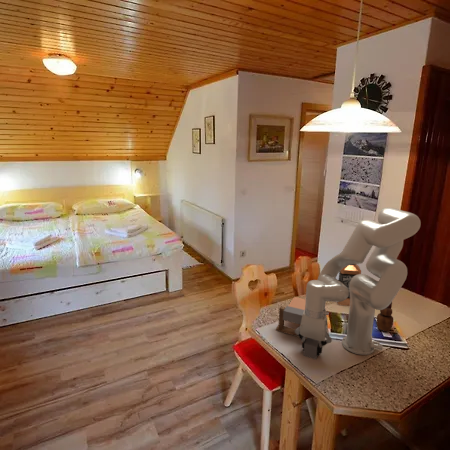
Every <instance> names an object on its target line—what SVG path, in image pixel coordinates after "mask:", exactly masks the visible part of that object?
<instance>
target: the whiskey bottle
mask: <svg viewBox="0 0 450 450" xmlns="http://www.w3.org/2000/svg"><path fill="white" fill-rule="evenodd" d="M358 274H362V270H361V267H360V265H359V264H354V265H348V266H346V267H344V268H342V269H341V270H340V272H339V273H338V280H339V281H340V282H341V283H343V284H344V285H345V286H346V287H347V288H348V290H349V285H350V281H351V279H352V278H353V277H354V276H355V275H358ZM336 304H337V305H339V306H345V307H347V306H348V307H350V291H349V295H348V297H347V299H345V300H344V301H341V302H336Z"/></svg>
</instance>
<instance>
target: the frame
mask: <svg viewBox="0 0 450 450" xmlns="http://www.w3.org/2000/svg"><path fill="white" fill-rule="evenodd" d="M285 308H286V306H282V305H281V306H280V307H279V313H278V325H277V326H276V328H275V331H277V332H281V333H284V334H286V335H292V336H295V337H298V335H297V334H296V333H295V330H296V329H297V328H293V327H290V326H285V320H283V311H284V309H285ZM306 339H307V337H306Z"/></svg>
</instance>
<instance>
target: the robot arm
mask: <svg viewBox="0 0 450 450" xmlns="http://www.w3.org/2000/svg"><path fill="white" fill-rule="evenodd" d="M421 223H422V222H421V219H420V218H419V216H418V215H417V214H415V213H412V212H410V211H406V210H402V209H399V208H394V207H384V208H382V209H381V210H380V211H379V212H378V215H377V221H374V220H372V219H362V220H360V221H359V222H358V223H357V224H356V226H355V228H354V230H353V232H352V233H351V235H350V237H349V239H348V240H347V242H346V244H345V246H344V247H343V249H342V251H341V252H339V254H336V255H335V256H333V257H332V258H331V259H329V260H328V261H327V262H326V263H325V265H324V266H323V267H322V269H321V270H320V273H319V275H318V277H317V279H313V280H312V279H311V280H309V281H308V282H307V283H306V289H305V291H306V292H305V299H306V302H305V310H304V312H303V315H302V319H301V324H299V326H298V327H297V328H295V329H296V330H295V333H296V334H297V335H298V336H297V338H298V337H299V339H300V341H301V348H302V352H304V343H305V341H306V337H308V338H311V339H315V340H318V344H319V345H318V350H317V357H319V356H320V355H321V354H322V353H323V352H322V351H323V347H324V346H326V345H328V344H330V343H332V342H333V339H332V337H331V336H330V335H329V333H328V317H327V316H329V313H330V311H327V310H326V302H332V303H333V302H335V303H337V302H341V301H344V300H345V299H347V297H348V295H349V291H350V306H349V309H348V320H347V330H346V335H345V336H344V337H343V338H342V339H341V345H342V346H343V348H344V349H345V350H347V351H349V352H351V353H353V354H355V355H359V356H367V355H368V356H369V355H371V354H372V353H374V351H375V349H377V350H380V351H383V346H384V345H383V344H381V342H380V341H377V340H374V339H373V328H374V327H373V326H374V320H375V314H376V313H375V312H376V310H377V311H380V310H383V309H385V308H387V307H388V306H389V305H390V304H391V302H392V303H393V300H394V299H395V298H396V296H397V295H398V293H399V292H400V290H401V288H402V286H403V285H404V283H405V281H406V280H407V276H408V267H407V266H406V264H405V263H404V262H403V261H401V260H400V259H398V257H399V254H400V253H401V251H402V249H403V247H404V240H406V239H408V238H410V237H413V236H414V235H416V233H418V231H419V230H420V228H421ZM373 247H374V249H373V251H372V252H371V254H370V255H369V257H368V259H367V261H366V262H365V259H366V258H367V256H368V254H369V252H370V251H371V249H372V248H373ZM364 262H365V263H366V264H365V268H366V270H367V271H368V272H369V273H370V274H372V275H373V276H375V277H377V278H378V280H377V279H375V278H373V277H371V276H370V275H368V274H365V273H361V274H358V275H355V276H354V277H353V278H352V279H351V281H350V285H349V290H348V288H347V287H346V286H345V285H344V284H343V283H341V282H340V281H339V279H338V278H337V276H338V275H339V272H340V270H341V269H342V268H344V267H346V266H348V265H354V264H356V265H362V264H363V263H364Z"/></svg>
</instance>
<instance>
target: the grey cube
mask: <svg viewBox="0 0 450 450" xmlns="http://www.w3.org/2000/svg"><path fill="white" fill-rule="evenodd" d="M318 345H319V344H318V340H315V339H311V338H308V337H307V339H306V341H305V343H304V351H303V356H304V357H307V358H310V359H314V360H317V358H318V356H317V350H318Z"/></svg>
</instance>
